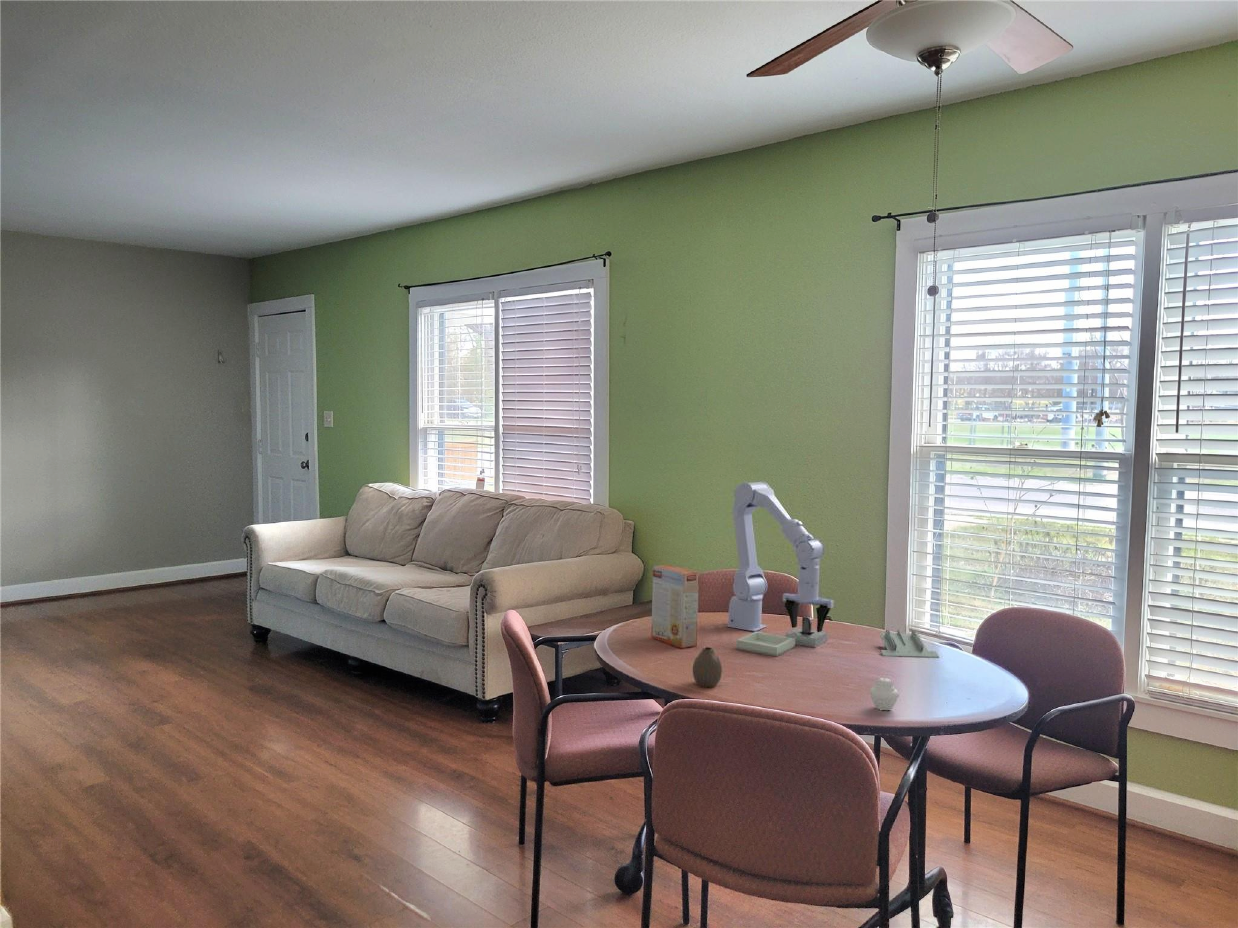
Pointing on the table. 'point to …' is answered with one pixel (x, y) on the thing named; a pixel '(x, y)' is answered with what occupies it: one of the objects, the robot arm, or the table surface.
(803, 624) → the pin
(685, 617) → the cracker box
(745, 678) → the table surface
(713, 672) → the vase
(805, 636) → the block
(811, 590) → the robot arm
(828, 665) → the table surface
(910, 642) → the metal bracket
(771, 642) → the tray
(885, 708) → the white rounded piece
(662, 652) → the table surface
